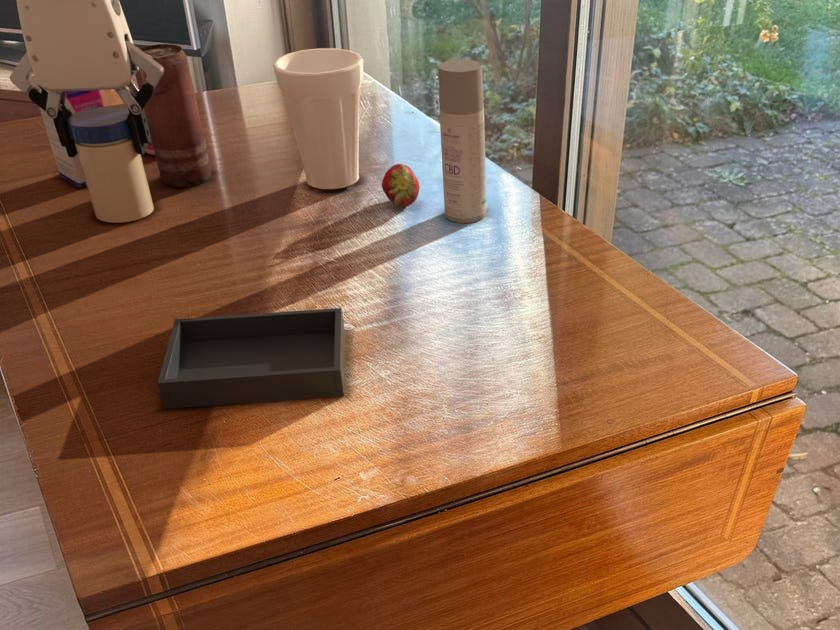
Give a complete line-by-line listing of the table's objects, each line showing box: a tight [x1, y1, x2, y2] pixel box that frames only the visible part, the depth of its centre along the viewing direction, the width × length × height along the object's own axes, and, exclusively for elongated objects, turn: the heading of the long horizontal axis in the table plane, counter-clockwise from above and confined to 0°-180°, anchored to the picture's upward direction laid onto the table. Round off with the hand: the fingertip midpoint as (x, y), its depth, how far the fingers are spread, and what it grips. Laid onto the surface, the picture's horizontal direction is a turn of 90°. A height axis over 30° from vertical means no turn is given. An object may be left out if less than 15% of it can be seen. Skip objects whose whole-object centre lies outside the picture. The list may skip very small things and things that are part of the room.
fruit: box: [381, 163, 421, 208], centre depth 111 cm, size 4×6×5 cm
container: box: [438, 58, 487, 224], centre depth 105 cm, size 5×5×15 cm
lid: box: [67, 106, 131, 144], centre depth 107 cm, size 7×7×2 cm
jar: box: [74, 135, 155, 224], centre depth 110 cm, size 7×7×9 cm
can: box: [135, 43, 212, 188], centre depth 115 cm, size 6×6×14 cm
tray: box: [157, 307, 346, 410], centre depth 87 cm, size 15×11×2 cm
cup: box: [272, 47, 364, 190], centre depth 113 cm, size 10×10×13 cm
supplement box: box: [30, 73, 105, 188], centre depth 117 cm, size 6×6×12 cm
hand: (108, 150), depth 109 cm, fingers closed on lid, 6 cm apart
